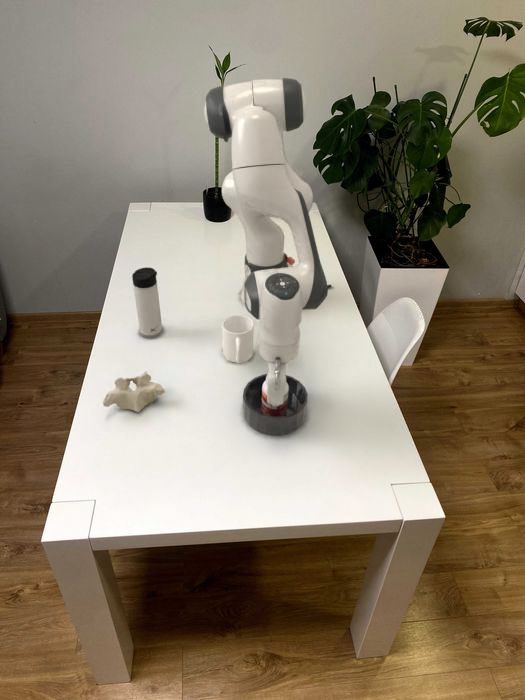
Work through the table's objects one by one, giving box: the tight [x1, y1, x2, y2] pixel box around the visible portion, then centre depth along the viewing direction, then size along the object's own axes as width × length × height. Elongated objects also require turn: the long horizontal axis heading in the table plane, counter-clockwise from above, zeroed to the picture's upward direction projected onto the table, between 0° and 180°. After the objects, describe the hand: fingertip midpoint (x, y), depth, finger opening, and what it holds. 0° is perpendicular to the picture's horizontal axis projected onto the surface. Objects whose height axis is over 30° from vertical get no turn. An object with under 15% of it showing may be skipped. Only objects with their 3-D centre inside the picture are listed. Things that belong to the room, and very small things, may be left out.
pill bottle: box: [261, 373, 289, 417], centre depth 128 cm, size 6×6×11 cm
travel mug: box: [131, 267, 163, 339], centre depth 149 cm, size 6×7×20 cm
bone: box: [102, 370, 166, 413], centre depth 131 cm, size 9×14×8 cm, turn 125°
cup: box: [221, 314, 255, 365], centre depth 144 cm, size 8×12×10 cm
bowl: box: [242, 373, 309, 436], centre depth 130 cm, size 15×15×6 cm
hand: (276, 389), depth 128 cm, fingers open, 8 cm apart
